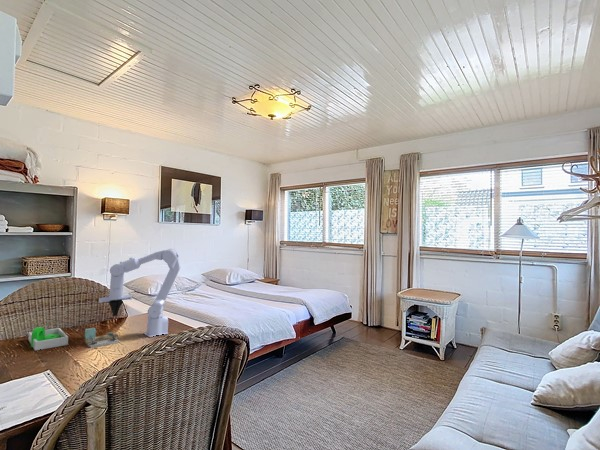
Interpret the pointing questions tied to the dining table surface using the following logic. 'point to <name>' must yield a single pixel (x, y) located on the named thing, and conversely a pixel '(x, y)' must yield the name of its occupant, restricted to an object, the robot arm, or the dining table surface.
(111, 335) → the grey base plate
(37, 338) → the mechanical part
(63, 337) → the white tray
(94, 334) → the sliding leg
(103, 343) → the template plate
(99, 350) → the dining table surface
